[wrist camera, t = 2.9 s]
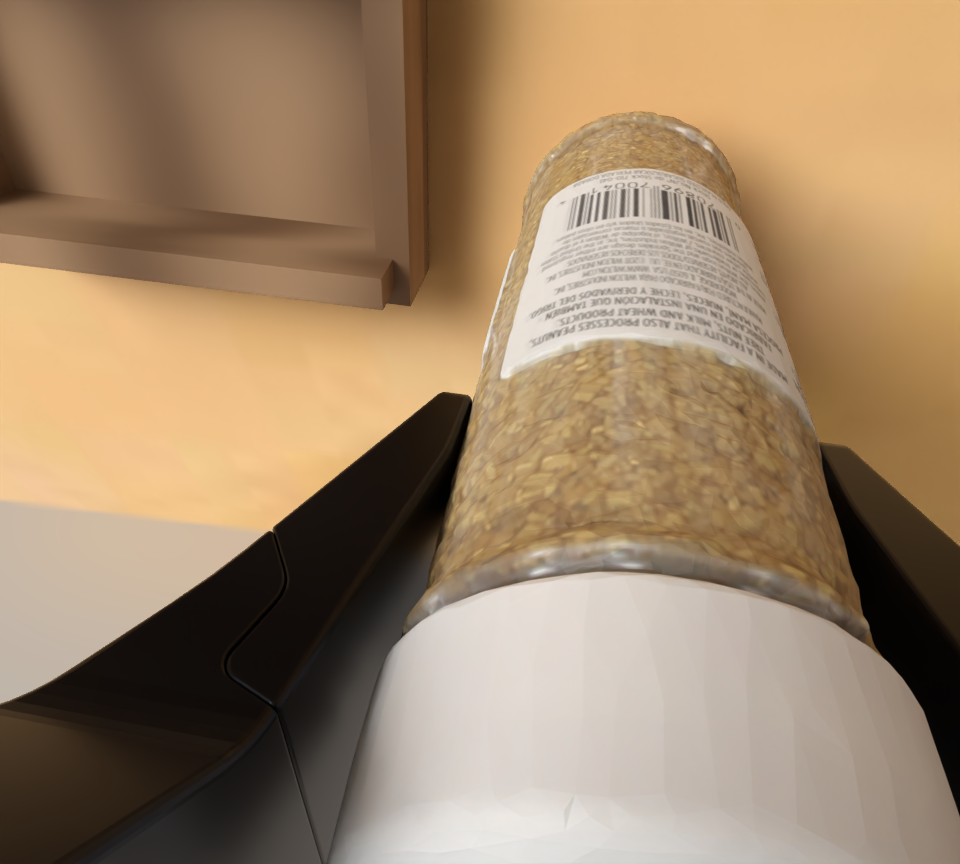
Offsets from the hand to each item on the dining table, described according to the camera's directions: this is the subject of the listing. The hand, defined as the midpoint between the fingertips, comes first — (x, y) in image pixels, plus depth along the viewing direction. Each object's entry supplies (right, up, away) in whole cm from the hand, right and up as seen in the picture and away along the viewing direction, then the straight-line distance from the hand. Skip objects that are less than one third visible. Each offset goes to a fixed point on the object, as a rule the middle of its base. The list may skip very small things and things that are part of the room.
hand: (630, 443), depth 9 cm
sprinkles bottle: (+1, +5, +6) cm, 8 cm away
